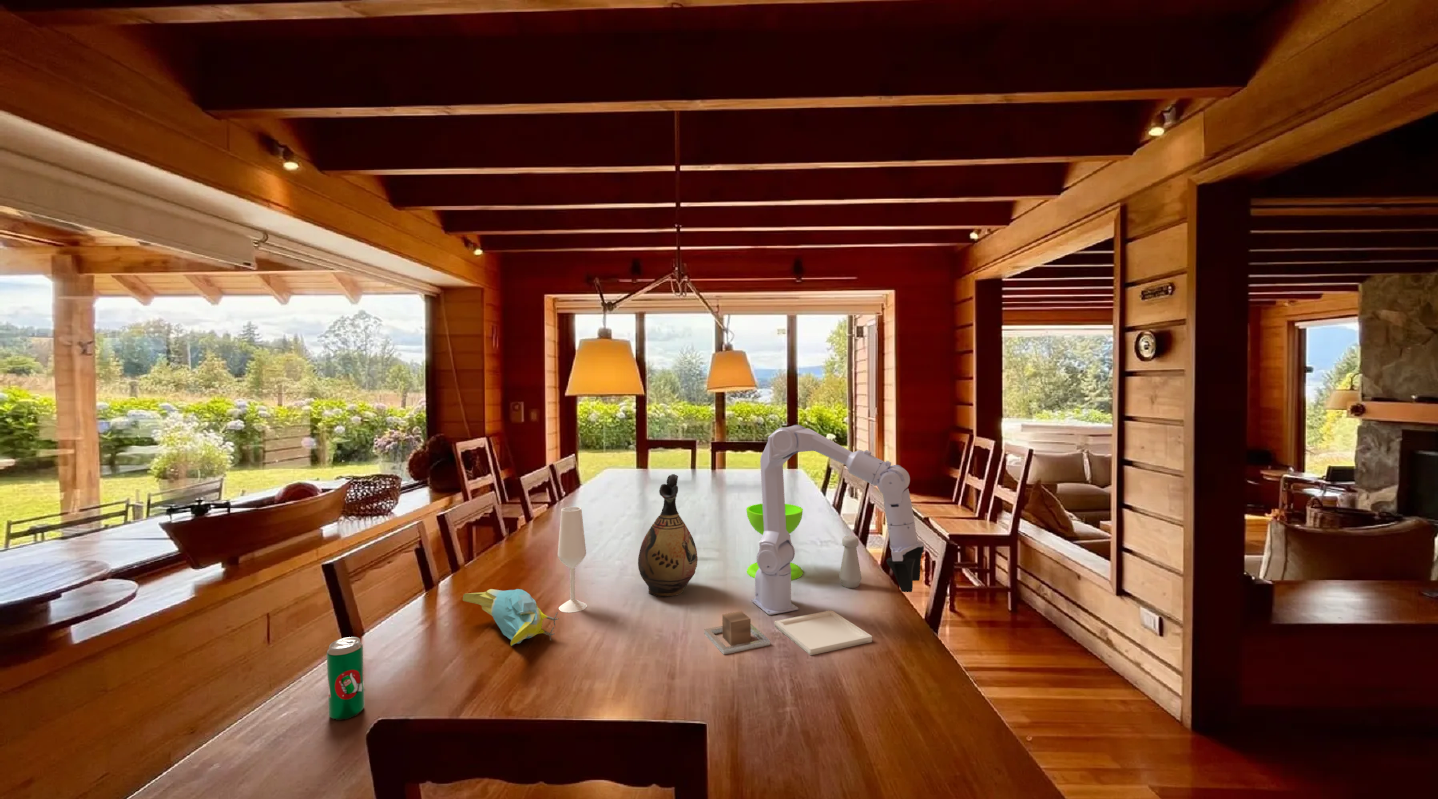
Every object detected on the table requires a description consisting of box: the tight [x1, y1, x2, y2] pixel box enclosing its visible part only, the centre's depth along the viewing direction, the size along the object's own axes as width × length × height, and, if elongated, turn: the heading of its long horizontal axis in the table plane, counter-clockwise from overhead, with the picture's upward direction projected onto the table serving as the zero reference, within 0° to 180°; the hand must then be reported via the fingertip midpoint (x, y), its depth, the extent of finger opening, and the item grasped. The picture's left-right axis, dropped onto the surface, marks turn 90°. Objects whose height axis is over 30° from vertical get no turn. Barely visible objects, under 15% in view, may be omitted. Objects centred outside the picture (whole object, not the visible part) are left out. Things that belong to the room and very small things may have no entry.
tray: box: [774, 609, 873, 656], centre depth 128 cm, size 15×15×1 cm
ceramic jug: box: [637, 473, 698, 598], centre depth 155 cm, size 17×15×30 cm
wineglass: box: [745, 503, 804, 581], centre depth 168 cm, size 16×16×18 cm
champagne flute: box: [557, 506, 588, 614], centre depth 143 cm, size 7×7×24 cm
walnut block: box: [721, 610, 752, 646], centre depth 125 cm, size 4×4×5 cm
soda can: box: [326, 636, 366, 721], centre depth 98 cm, size 5×5×12 cm
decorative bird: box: [462, 588, 560, 647], centre depth 126 cm, size 14×30×9 cm, turn 39°
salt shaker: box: [838, 535, 862, 589], centre depth 157 cm, size 6×6×13 cm
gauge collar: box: [703, 623, 771, 655], centre depth 125 cm, size 10×10×1 cm
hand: (910, 585), depth 127 cm, fingers open, 7 cm apart
